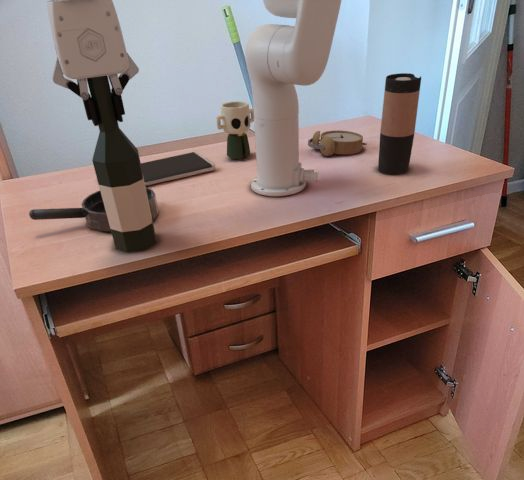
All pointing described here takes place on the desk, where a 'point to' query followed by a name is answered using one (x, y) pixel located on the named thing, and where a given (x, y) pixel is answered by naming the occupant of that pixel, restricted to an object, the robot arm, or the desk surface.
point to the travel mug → (398, 122)
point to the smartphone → (175, 167)
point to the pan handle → (56, 213)
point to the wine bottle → (120, 176)
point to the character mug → (236, 127)
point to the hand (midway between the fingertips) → (107, 120)
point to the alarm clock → (337, 142)
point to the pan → (97, 211)
